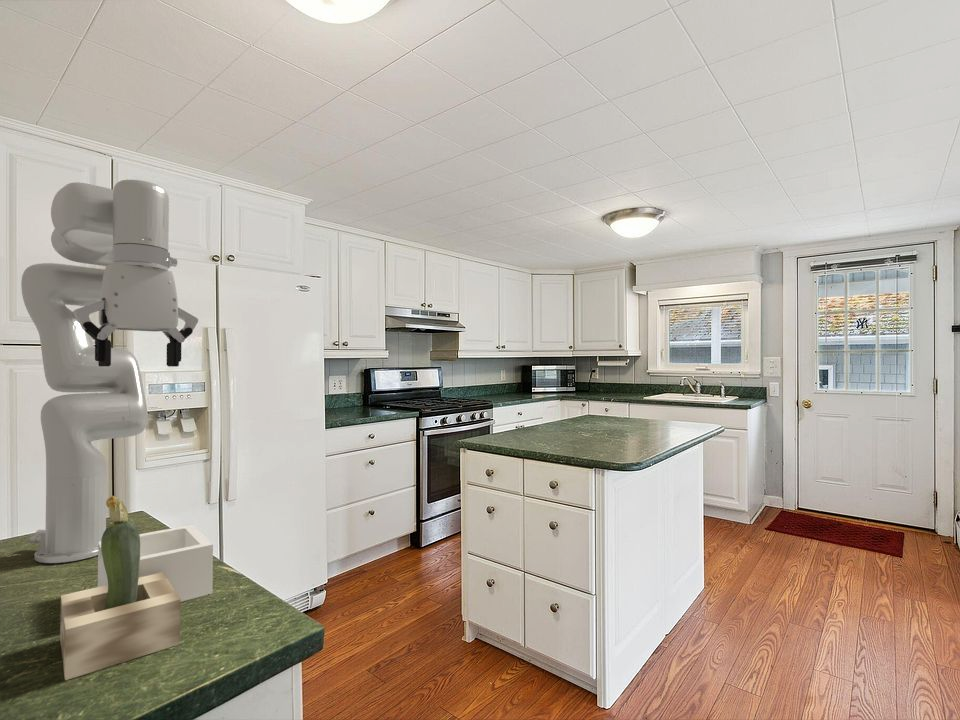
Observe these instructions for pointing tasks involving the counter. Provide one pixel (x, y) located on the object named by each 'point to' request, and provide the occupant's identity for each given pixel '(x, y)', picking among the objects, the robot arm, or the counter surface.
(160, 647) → the holder
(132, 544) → the vegetable
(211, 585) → the bin
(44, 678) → the counter surface
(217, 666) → the counter surface
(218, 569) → the counter surface
